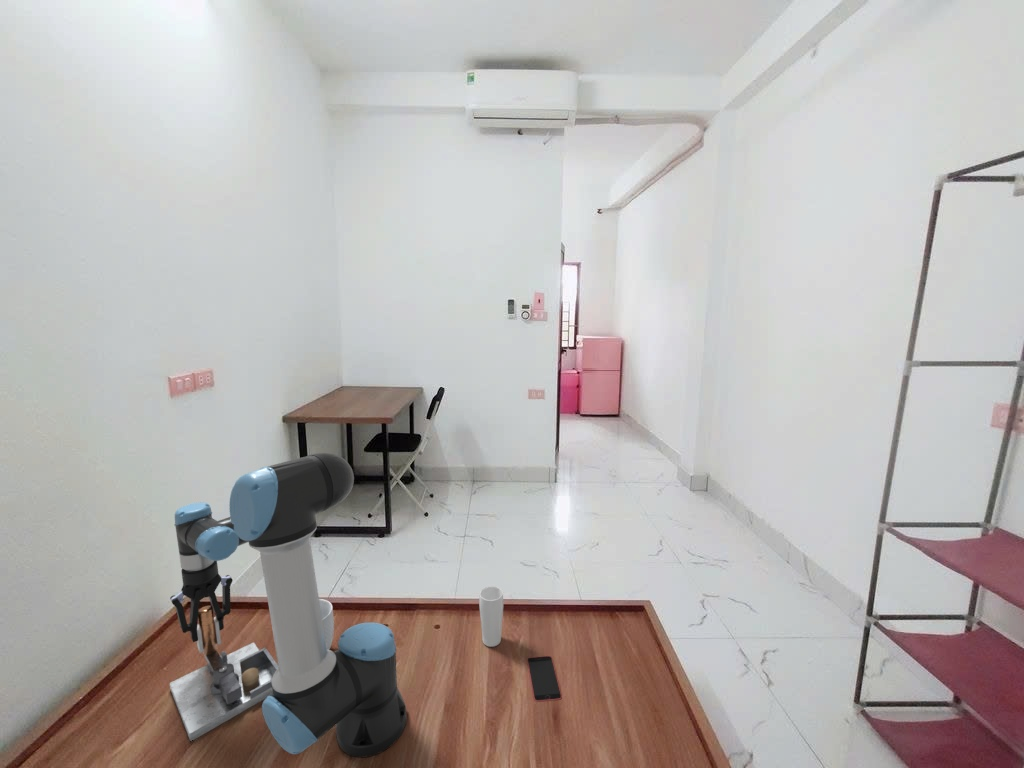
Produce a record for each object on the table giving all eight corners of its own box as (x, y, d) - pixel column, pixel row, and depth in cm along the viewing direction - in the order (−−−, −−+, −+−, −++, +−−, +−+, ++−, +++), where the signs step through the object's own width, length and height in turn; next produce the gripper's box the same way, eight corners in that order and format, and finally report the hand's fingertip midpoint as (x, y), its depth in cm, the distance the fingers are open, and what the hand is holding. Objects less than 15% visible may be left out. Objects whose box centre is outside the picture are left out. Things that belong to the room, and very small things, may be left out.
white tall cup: (508, 638, 129) (507, 590, 127) (494, 653, 123) (494, 603, 121) (488, 629, 133) (488, 583, 130) (475, 643, 127) (474, 595, 125)
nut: (262, 684, 111) (260, 672, 110) (246, 693, 108) (245, 682, 107) (255, 676, 113) (254, 665, 112) (240, 685, 110) (238, 674, 110)
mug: (343, 668, 118) (340, 623, 116) (297, 687, 112) (293, 640, 110) (331, 634, 131) (328, 593, 129) (289, 650, 125) (285, 607, 123)
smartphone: (534, 701, 108) (526, 657, 122) (534, 703, 108) (526, 659, 122) (562, 698, 109) (551, 655, 122) (562, 700, 109) (551, 657, 122)
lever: (245, 695, 107) (239, 643, 105) (224, 706, 103) (218, 654, 101) (218, 648, 121) (213, 603, 119) (199, 657, 118) (193, 611, 116)
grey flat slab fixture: (281, 689, 112) (279, 667, 111) (190, 741, 98) (187, 717, 97) (254, 648, 125) (252, 629, 124) (170, 690, 112) (167, 668, 111)
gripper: (230, 546, 123) (239, 623, 127) (156, 571, 111) (168, 655, 115) (239, 556, 118) (248, 636, 122) (162, 583, 106) (174, 671, 110)
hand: (209, 645), depth 118 cm, fingers closed on lever, 3 cm apart
